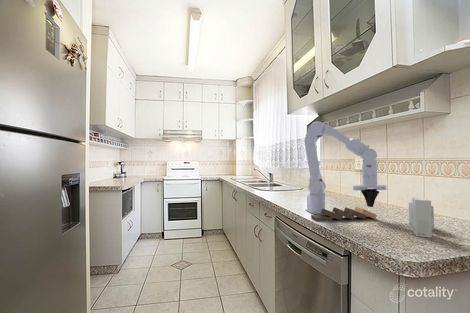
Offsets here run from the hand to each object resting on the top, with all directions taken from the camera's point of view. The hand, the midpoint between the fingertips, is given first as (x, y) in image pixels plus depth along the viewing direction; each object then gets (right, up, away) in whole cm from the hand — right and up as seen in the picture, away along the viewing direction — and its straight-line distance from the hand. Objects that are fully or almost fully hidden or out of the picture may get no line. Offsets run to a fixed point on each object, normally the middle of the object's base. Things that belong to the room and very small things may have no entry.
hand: (370, 206), depth 102 cm
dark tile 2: (-15, -4, -2) cm, 15 cm away
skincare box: (+3, -5, -24) cm, 25 cm away
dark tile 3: (-10, -4, -1) cm, 10 cm away
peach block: (+1, -4, 0) cm, 4 cm away
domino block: (-4, -4, -1) cm, 6 cm away
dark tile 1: (-19, -5, -2) cm, 20 cm away
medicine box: (+10, -5, -15) cm, 19 cm away
